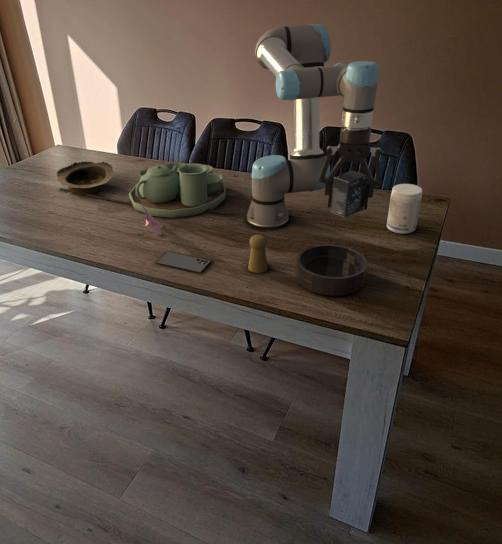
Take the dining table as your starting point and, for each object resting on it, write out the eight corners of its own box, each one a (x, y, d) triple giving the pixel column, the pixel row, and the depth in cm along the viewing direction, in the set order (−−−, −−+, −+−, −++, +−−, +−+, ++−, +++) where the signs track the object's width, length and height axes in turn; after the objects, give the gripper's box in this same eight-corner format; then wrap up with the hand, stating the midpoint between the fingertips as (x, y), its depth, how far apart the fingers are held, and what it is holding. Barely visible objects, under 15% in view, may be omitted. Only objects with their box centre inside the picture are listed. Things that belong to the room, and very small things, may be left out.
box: (345, 218, 138) (349, 182, 133) (329, 212, 143) (332, 176, 137) (364, 210, 142) (368, 174, 136) (348, 204, 146) (352, 169, 141)
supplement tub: (400, 220, 179) (407, 181, 171) (421, 230, 172) (430, 190, 164) (379, 226, 176) (385, 187, 168) (400, 237, 168) (408, 196, 161)
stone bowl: (87, 174, 238) (85, 155, 233) (127, 187, 226) (126, 168, 221) (47, 192, 221) (44, 172, 216) (88, 207, 209) (85, 186, 204)
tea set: (240, 186, 215) (240, 148, 206) (199, 225, 185) (196, 183, 177) (160, 175, 231) (157, 140, 223) (110, 210, 202) (104, 171, 193)
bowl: (291, 293, 144) (293, 274, 141) (300, 259, 160) (301, 241, 157) (363, 301, 139) (366, 282, 135) (364, 266, 154) (367, 247, 151)
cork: (246, 264, 160) (246, 233, 154) (265, 262, 160) (265, 231, 154) (250, 273, 155) (250, 242, 149) (269, 271, 155) (270, 240, 149)
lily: (151, 246, 176) (162, 223, 172) (123, 230, 178) (134, 206, 174) (163, 240, 187) (174, 218, 183) (137, 225, 189) (147, 203, 185)
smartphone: (168, 251, 169) (210, 259, 162) (168, 253, 169) (210, 261, 162) (156, 262, 163) (200, 271, 156) (156, 263, 164) (200, 272, 157)
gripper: (312, 129, 130) (306, 209, 142) (402, 131, 124) (388, 214, 135) (314, 121, 136) (309, 198, 148) (400, 123, 130) (387, 203, 141)
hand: (347, 206), depth 142 cm, fingers closed on box, 9 cm apart
